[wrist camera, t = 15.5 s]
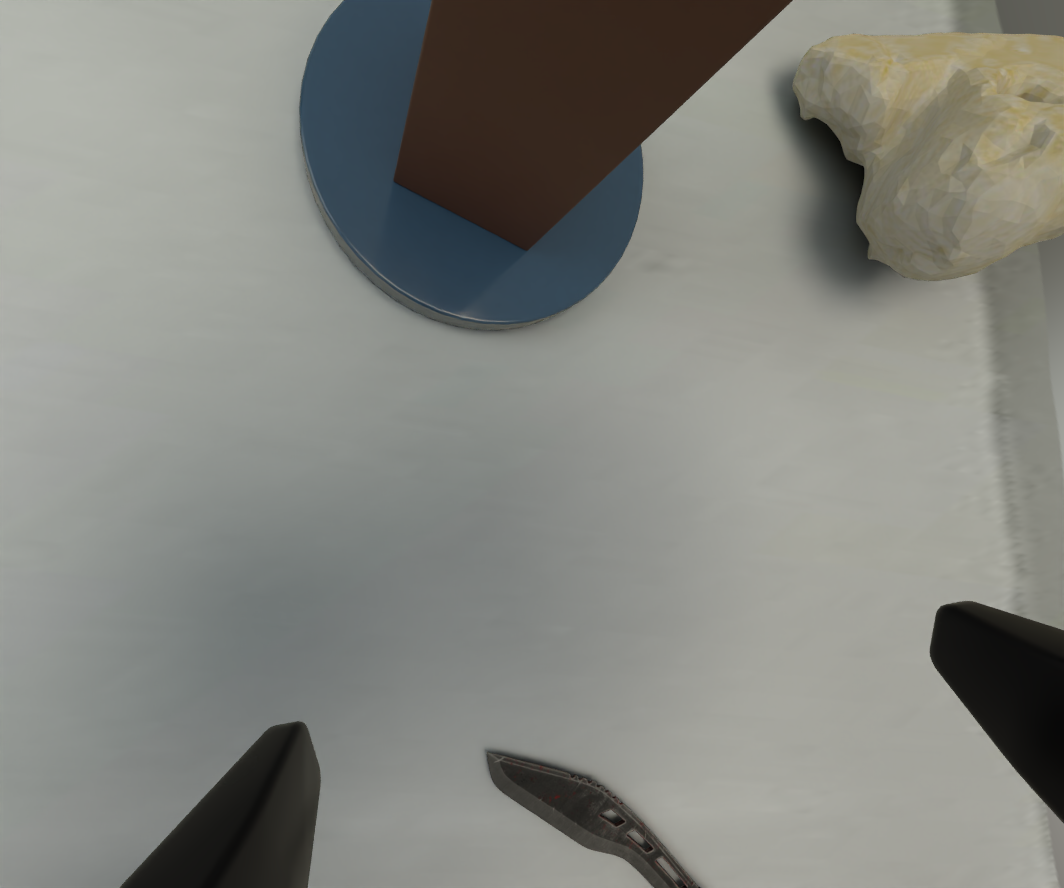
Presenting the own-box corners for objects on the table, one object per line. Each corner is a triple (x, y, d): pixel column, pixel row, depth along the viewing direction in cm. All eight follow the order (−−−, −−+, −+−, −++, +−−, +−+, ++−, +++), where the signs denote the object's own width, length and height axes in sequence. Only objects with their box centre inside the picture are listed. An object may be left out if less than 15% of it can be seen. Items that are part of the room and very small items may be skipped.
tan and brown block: (527, 252, 17) (872, -74, 6) (392, 181, 16) (519, -413, 5) (578, 114, 18) (987, -423, 7) (451, 34, 16) (696, -830, 5)
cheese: (707, 271, 24) (1131, 419, 18) (761, 76, 18) (1406, 206, 12) (815, 143, 31) (1135, 219, 26) (878, -22, 26) (1305, 31, 20)
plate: (413, 387, 18) (419, 384, 16) (227, 42, 16) (218, 12, 14) (672, 255, 21) (691, 245, 20) (544, -46, 19) (557, -77, 17)
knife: (476, 767, 18) (543, 702, 19) (473, 758, 19) (539, 696, 19) (713, 1024, 22) (763, 962, 22) (706, 1011, 22) (755, 951, 23)
